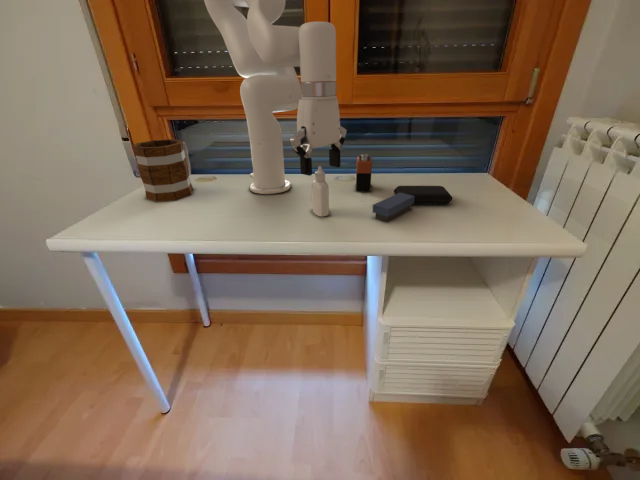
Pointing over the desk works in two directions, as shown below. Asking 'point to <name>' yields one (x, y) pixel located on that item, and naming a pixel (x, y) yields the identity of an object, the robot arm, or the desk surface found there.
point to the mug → (164, 169)
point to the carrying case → (426, 194)
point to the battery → (363, 173)
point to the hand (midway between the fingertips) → (321, 170)
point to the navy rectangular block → (393, 206)
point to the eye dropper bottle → (320, 194)
